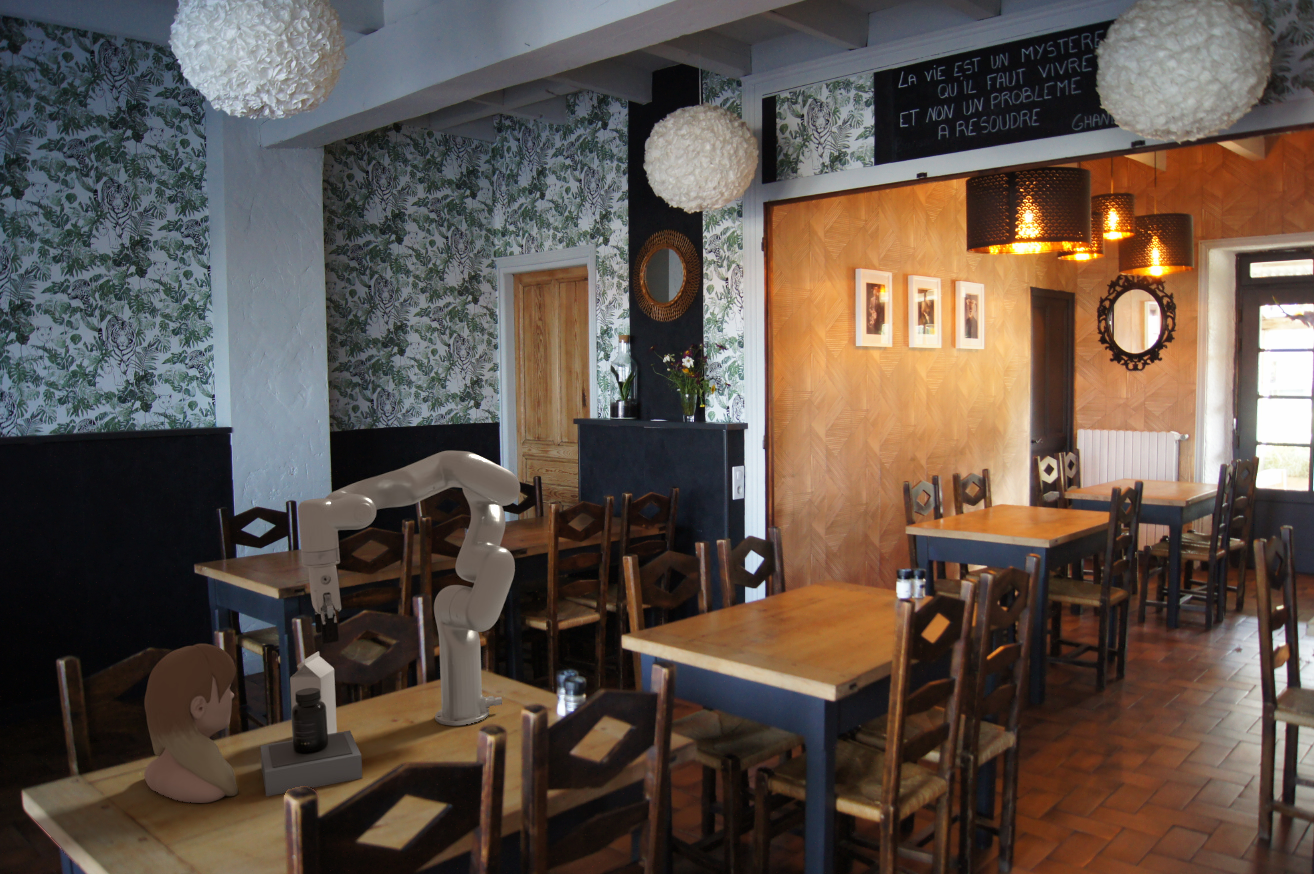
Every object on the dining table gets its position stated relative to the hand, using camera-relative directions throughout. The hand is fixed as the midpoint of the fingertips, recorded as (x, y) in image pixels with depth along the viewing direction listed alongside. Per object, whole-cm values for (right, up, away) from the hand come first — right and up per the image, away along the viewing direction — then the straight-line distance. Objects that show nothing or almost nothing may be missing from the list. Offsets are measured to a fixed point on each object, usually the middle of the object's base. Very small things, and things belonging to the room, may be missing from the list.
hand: (327, 636), depth 203 cm
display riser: (-1, -27, -7) cm, 28 cm away
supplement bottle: (-1, -22, -6) cm, 23 cm away
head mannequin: (-22, -28, -11) cm, 37 cm away
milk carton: (-7, -26, +14) cm, 30 cm away
